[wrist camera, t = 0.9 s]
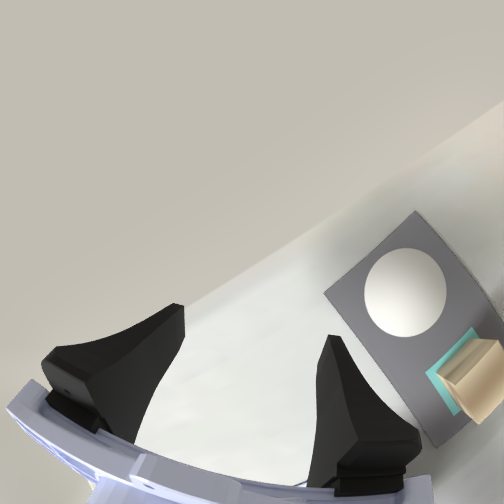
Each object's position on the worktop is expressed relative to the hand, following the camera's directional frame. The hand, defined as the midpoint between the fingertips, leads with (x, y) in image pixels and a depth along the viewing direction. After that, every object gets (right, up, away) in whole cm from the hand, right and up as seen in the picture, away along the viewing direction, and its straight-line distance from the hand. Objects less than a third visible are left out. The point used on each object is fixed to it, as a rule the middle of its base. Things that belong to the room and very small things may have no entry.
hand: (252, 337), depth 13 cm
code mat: (+16, -3, +7) cm, 18 cm away
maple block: (+19, -7, +4) cm, 20 cm away
